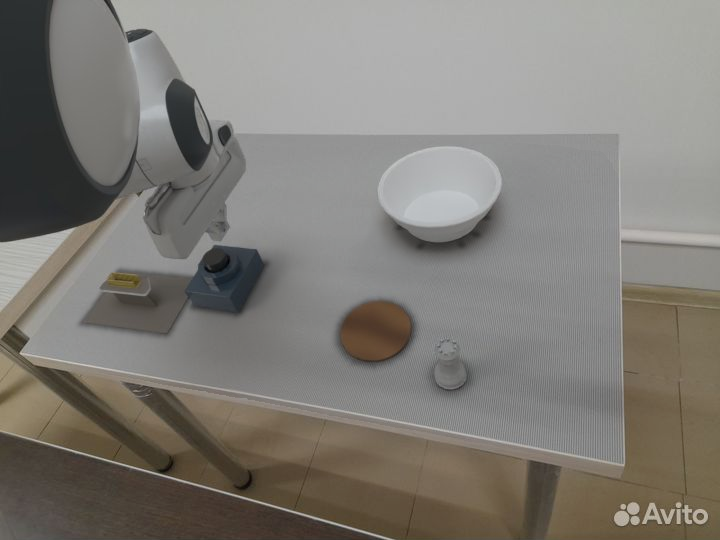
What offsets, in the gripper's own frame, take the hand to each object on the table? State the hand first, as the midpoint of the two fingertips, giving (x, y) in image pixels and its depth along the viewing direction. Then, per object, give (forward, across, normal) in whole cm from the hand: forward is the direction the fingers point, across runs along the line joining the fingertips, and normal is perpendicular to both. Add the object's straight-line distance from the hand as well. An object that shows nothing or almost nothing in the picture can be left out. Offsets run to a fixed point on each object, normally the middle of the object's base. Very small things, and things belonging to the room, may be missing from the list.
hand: (221, 234), depth 78 cm
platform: (+17, -3, +23) cm, 28 cm away
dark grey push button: (+11, +3, +7) cm, 13 cm away
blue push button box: (+16, +3, +7) cm, 18 cm away
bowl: (+16, +23, -28) cm, 40 cm away
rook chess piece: (+16, -8, -35) cm, 39 cm away
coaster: (+16, -2, -22) cm, 28 cm away
